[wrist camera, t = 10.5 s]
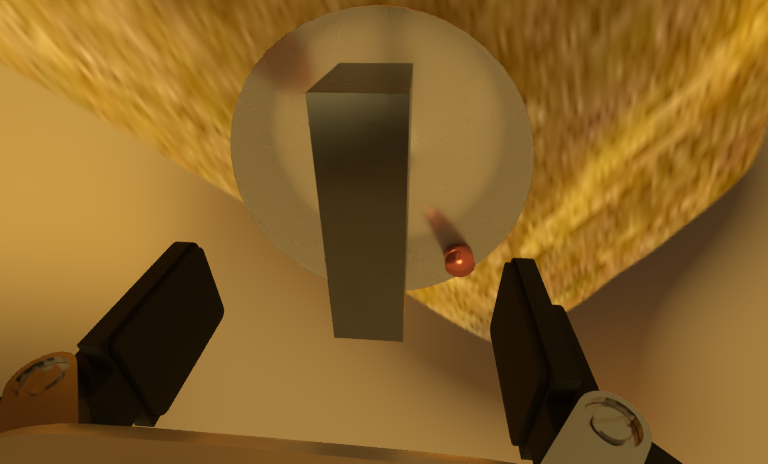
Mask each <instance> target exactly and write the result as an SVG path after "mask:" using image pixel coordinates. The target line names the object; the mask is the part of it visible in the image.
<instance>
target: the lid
mask: <svg viewBox="0 0 768 464" xmlns="http://www.w3.org/2000/svg"><path fill="white" fill-rule="evenodd" d="M230 140H231V159H232V165H233V170H234V176H235V179H236V182H237V185H238V188H239V192H240V194H241V196H242V199H243V201H244V203H245V205H246V207H247V209H248V211H249V213H250V214H251V216H252V217H253V219H254V221H255V222H256V224H257V225H258V226H259V228H260V229H261V230H262V232H263V233H264V234H265V235H266V237H267V238H268V239H269V240H270V241H271V242H272V243H273V244H274V245H275V246H276V247H277V248H278V249H279V250H280V251H282V252H283V253H284V254H285V255H286V256H288V257H289V258H290V259H291V260H293V261H294V262H296V263H297V264H299V265H300V266H302V267H303V268H305V269H306V270H308V271H310V272H312V273H314V274H316V275H318V276H320V277H322V278H325V279H327V280H328V287H329V296H330V304H331V312H332V321H333V329H334V337H335V338H352V339H369V340H384V341H401V342H403V327H404V309H405V291H408V290H415V289H420V288H425V287H429V286H432V285H435V284H439V283H442V282H445V281H447V280H449V279H451V278H454V277H464V276H467V275H469V274H470V273H471V272H472V271H473V270H474V267H475V265H476V264H478V263H479V262H480V261H482V260H483V259H484V258H486V257H487V256H488V255H489V254H490V253H491V252H492V251H493V250H494V249H495V248H496V247H497V246H498V245H499V244H500V243H501V242H502V240H503V239H504V238H505V237H506V236H507V234H508V233H509V232H510V230H511V229H512V227H513V225H514V224H515V222H516V221H517V219H518V217H519V215H520V213H521V211H522V209H523V206H524V204H525V202H526V199H527V196H528V192H529V189H530V186H531V181H532V174H533V168H534V142H533V135H532V128H531V124H530V120H529V117H528V113H527V110H526V107H525V104H524V102H523V100H522V98H521V96H520V93H519V91H518V89H517V87H516V85H515V84H514V82H513V81H512V79H511V78H510V76H509V75H508V73H507V72H506V70H505V69H504V67H503V66H502V65H501V64H500V63H499V62H498V61H497V60H496V58H495V57H494V56H493V55H492V54H491V53H490V52H489V51H488V50H487V49H486V48H485V47H484V46H483V45H482V44H480V43H479V42H478V41H477V40H475V39H474V38H473V37H472V36H470V35H469V34H468V33H467V32H465V31H464V30H462V29H460V28H458V27H457V26H455V25H453V24H452V23H450V22H448V21H446V20H444V19H442V18H439V17H437V16H434V15H432V14H429V13H426V12H424V11H419V10H415V9H411V8H406V7H402V6H389V5H369V6H357V7H351V8H347V9H343V10H339V11H335V12H331V13H327V14H325V15H322V16H320V17H317V18H315V19H313V20H310V21H308V22H305V23H304V24H302V25H301V26H299V27H297V28H296V29H294V30H292V31H291V32H289V33H288V34H286V35H285V36H284V37H282V38H281V39H280V40H279V41H278V42H277V43H276V44H274V45H273V46H272V47H271V48H270V49H269V50H268V51H267V52H266V53H265V54H264V56H263V57H262V58H261V59H260V60H259V62H258V63H257V64H256V65H255V67H254V68H253V70H252V72H251V73H250V75H249V77H248V78H247V80H246V82H245V83H244V86H243V88H242V91H241V93H240V95H239V98H238V100H237V103H236V108H235V112H234V116H233V120H232V129H231V139H230Z"/></svg>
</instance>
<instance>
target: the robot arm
mask: <svg viewBox="0 0 768 464" xmlns="http://www.w3.org/2000/svg"><path fill="white" fill-rule="evenodd" d="M223 315H224V307H223V304H222V301H221V298H220V296H219V293H218V290H217V287H216V284H215V281H214V279H213V276H212V273H211V270H210V267H209V265H208V262H207V259H206V256H205V253H204V251H203V249H202V248H200V247H198V245H197V244H196V243H193V242H175V243H173V244H172V245H171V246H170V247H169V248H168V249H167V250H166V251H165V252H164V253H163V254H162V255H161V257H160V258H159V259H158V260H157V261H156V262H155V263H154V264H153V265H152V266H151V267H150V268H149V269H148V270H147V271H146V272H145V273H144V275H143V276H142V277H141V278H140V279H139V280H138V281H137V282H136V283H135V284H134V285H133V286H132V287H131V288H130V289H129V290H128V292H127V293H126V294H125V295H124V296H123V297H122V298H121V299H120V300H119V301H118V302H117V303H116V304H115V305H114V306H113V307H112V308H111V310H110V311H109V312H108V313H107V314H106V315H105V316H104V317H103V318H102V319H101V320H100V321H99V322H98V323H97V324H96V326H94V327H93V329H92V330H91V331H90V332H89V333H88V334H87V335H86V336H85V337H84V338H83V339H82V340H81V341H80V343H78V344H77V346H78V348H79V349H80V350H79V351H78V352H77V353H76V355H75V356H74V355H73V354H72V353H69V352H54V353H51V354H47V355H44V356H41V357H39V358H37V359H35V360H33V361H31V362H29V363H28V364H26V365H25V366H23V367H22V368H20V370H18V371H17V372H16V373H15V374H14V375H12V377H11V378H10V379H9V380H8V382H7V383H6V384H5V387H4V389H3V392H2V396H1V397H0V464H515V463H508V462H502V461H496V460H490V459H483V458H474V457H465V456H456V455H447V454H438V453H429V452H419V451H408V450H397V449H386V448H376V447H364V446H354V445H344V444H332V443H322V442H311V441H298V440H288V439H277V438H265V437H253V436H242V435H231V434H230V435H229V434H218V433H206V432H194V431H182V430H170V429H157V428H146V427H131V426H132V425H133V423H134V424H135V425H137V426H148V427H154V426H155V424H156V422H157V421H158V419H159V417H160V416H161V415H164V414H165V413H166V412H167V411H168V409H169V408H170V406H171V405H172V403H173V401H174V399H175V398H176V396H177V394H178V393H179V391H180V389H181V388H182V386H183V384H184V382H185V381H186V379H187V377H188V376H189V374H190V372H191V371H192V369H193V367H194V366H195V364H196V362H197V360H198V359H199V357H200V355H201V353H202V352H203V350H204V349H205V346H206V345H207V343H208V342H209V340H210V338H211V337H212V335H213V333H214V332H215V330H216V328H217V327H218V325H219V323H220V321H221V320H222V318H223ZM490 334H491V340H492V345H493V350H494V355H495V361H496V366H497V371H498V376H499V381H500V387H501V392H502V397H503V403H504V408H505V413H506V418H507V424H508V429H509V434H510V439H511V443H512V444H513V445H514V446H519V451H520V456H521V459H524V460H532V461H533V464H682V463H681V462H680V461H678V460H676V459H675V458H674V457H672V456H671V455H670V454H668V453H667V452H666V451H664V450H663V449H661V448H660V447H659V446H657V445H656V444H654V443H653V442H652V434H651V430H650V427H649V425H648V423H647V421H646V420H645V418H644V416H643V415H642V414H641V413H640V412H639V411H638V410H637V409H636V408H635V407H634V406H633V405H632V404H630V403H629V402H628V401H626V400H625V399H623V398H621V397H619V396H617V395H615V394H613V393H609V392H604V391H599V389H598V386H597V384H596V382H595V379H594V377H593V375H592V372H591V370H590V368H589V365H588V363H587V361H586V358H585V356H584V354H583V351H582V349H581V347H580V344H579V342H578V340H577V337H576V335H575V333H574V330H573V328H572V326H571V324H570V321H569V319H568V316H567V314H566V312H565V310H564V308H563V307H562V306H561V305H552V303H551V301H550V298H549V296H548V293H547V291H546V288H545V286H544V283H543V281H542V278H541V276H540V273H539V271H538V268H537V266H536V263H535V261H534V260H533V259H526V258H513V259H512V260H511V263H508V262H506V263H505V265H504V269H503V273H502V277H501V282H500V286H499V290H498V295H497V299H496V303H495V308H494V312H493V316H492V321H491V326H490Z"/></svg>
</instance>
